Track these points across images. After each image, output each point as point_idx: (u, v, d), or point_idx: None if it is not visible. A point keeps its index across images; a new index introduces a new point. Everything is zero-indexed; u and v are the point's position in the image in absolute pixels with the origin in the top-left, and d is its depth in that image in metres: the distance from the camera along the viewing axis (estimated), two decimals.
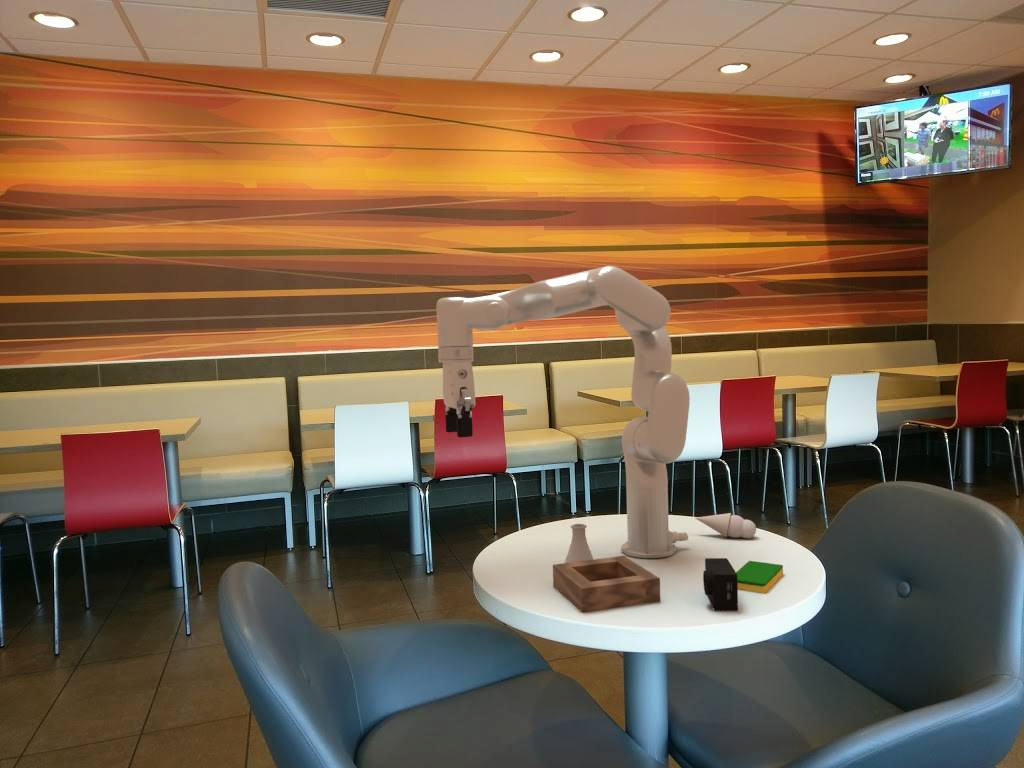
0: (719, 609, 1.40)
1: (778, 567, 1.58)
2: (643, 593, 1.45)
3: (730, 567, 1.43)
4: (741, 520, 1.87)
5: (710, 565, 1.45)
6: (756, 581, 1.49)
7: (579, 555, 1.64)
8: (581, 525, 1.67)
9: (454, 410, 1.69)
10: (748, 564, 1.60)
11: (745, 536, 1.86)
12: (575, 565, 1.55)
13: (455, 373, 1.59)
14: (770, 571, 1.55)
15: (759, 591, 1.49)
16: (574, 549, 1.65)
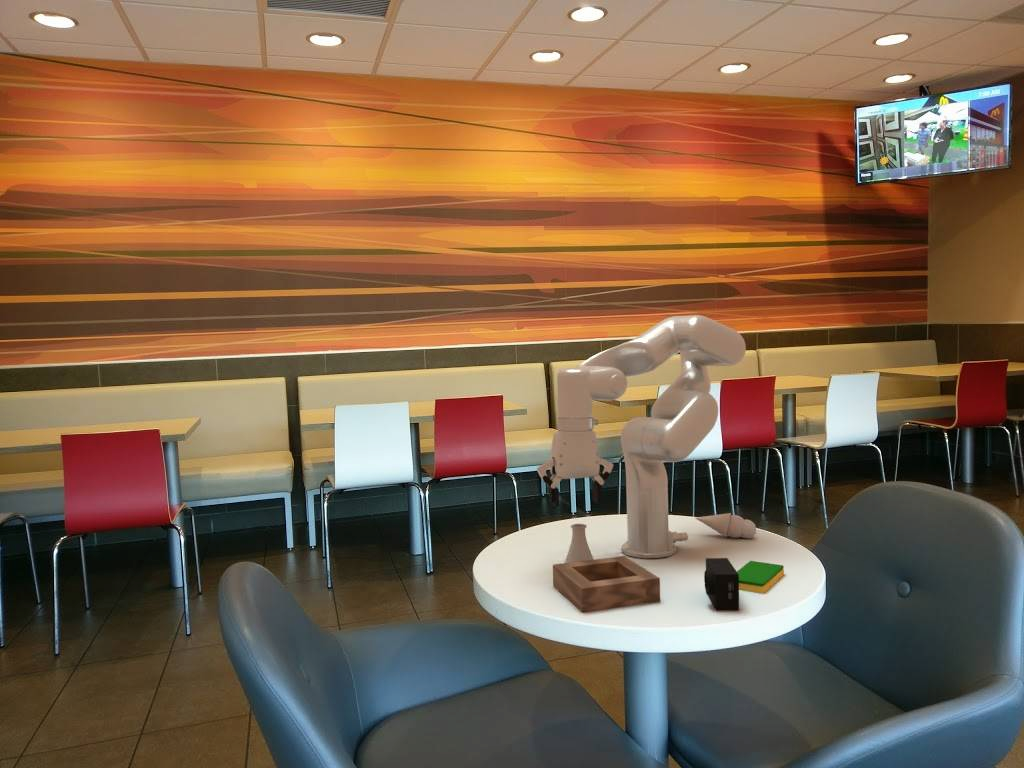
0: (720, 609, 1.40)
1: (779, 567, 1.58)
2: (643, 593, 1.45)
3: (731, 567, 1.43)
4: (741, 520, 1.87)
5: (711, 565, 1.45)
6: (755, 581, 1.50)
7: (579, 555, 1.64)
8: (581, 525, 1.67)
9: None
10: (749, 564, 1.60)
11: (745, 536, 1.86)
12: (575, 565, 1.55)
13: None
14: (770, 571, 1.55)
15: (758, 591, 1.49)
16: (574, 549, 1.65)
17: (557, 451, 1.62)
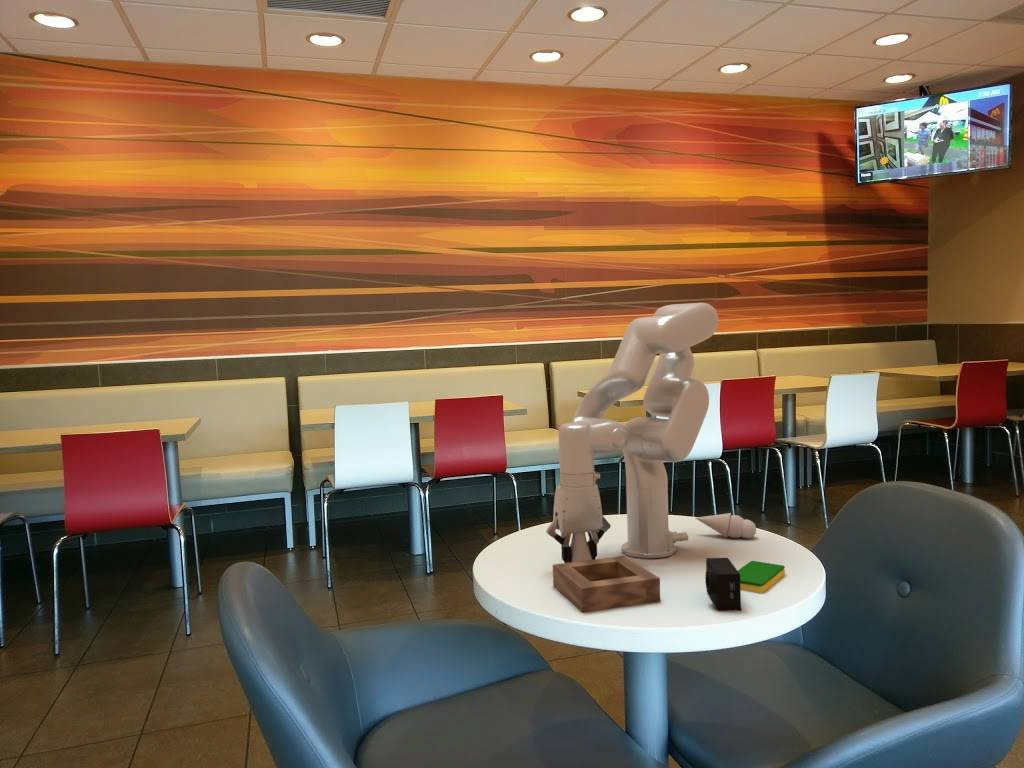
0: (722, 609, 1.40)
1: (779, 567, 1.57)
2: (643, 593, 1.45)
3: (732, 567, 1.43)
4: (741, 520, 1.87)
5: (712, 565, 1.45)
6: (754, 581, 1.50)
7: (579, 555, 1.64)
8: None
9: None
10: (749, 564, 1.60)
11: (745, 536, 1.86)
12: (575, 565, 1.55)
13: None
14: (770, 571, 1.55)
15: (757, 591, 1.49)
16: (574, 549, 1.65)
17: (560, 507, 1.63)
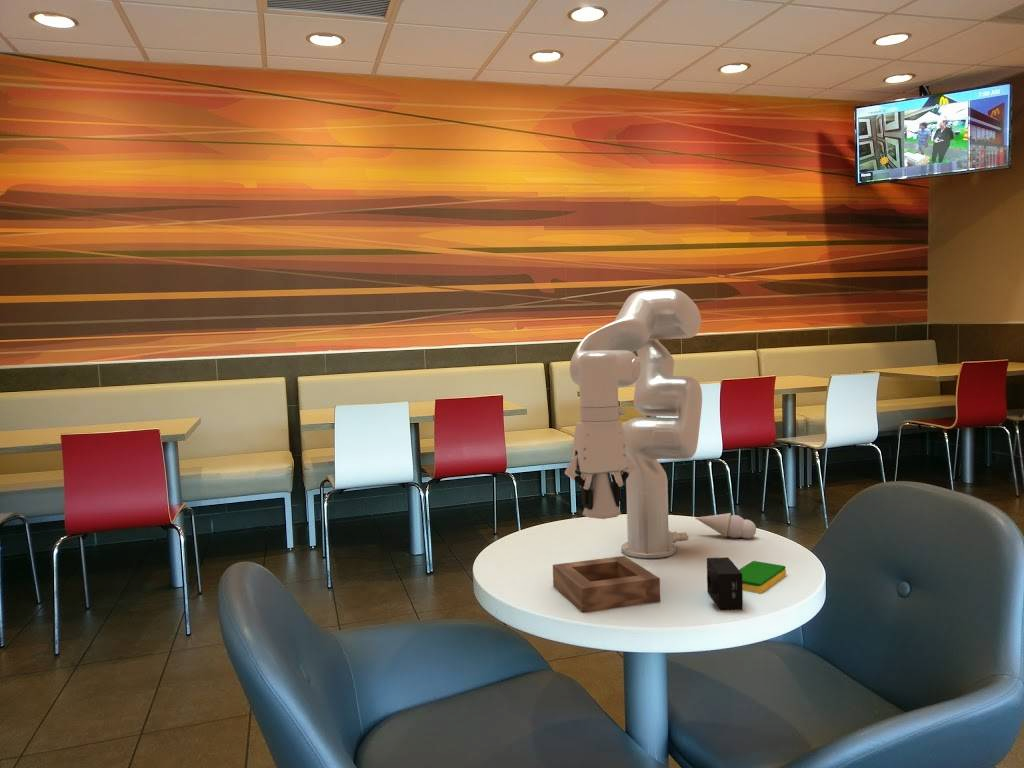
0: (724, 608, 1.40)
1: (780, 568, 1.57)
2: (643, 593, 1.45)
3: (733, 566, 1.44)
4: (741, 520, 1.87)
5: (713, 565, 1.45)
6: (752, 581, 1.50)
7: (601, 498, 1.48)
8: None
9: None
10: (750, 564, 1.60)
11: (745, 536, 1.86)
12: (575, 565, 1.55)
13: None
14: (770, 571, 1.55)
15: (755, 591, 1.49)
16: (596, 492, 1.49)
17: (580, 444, 1.47)
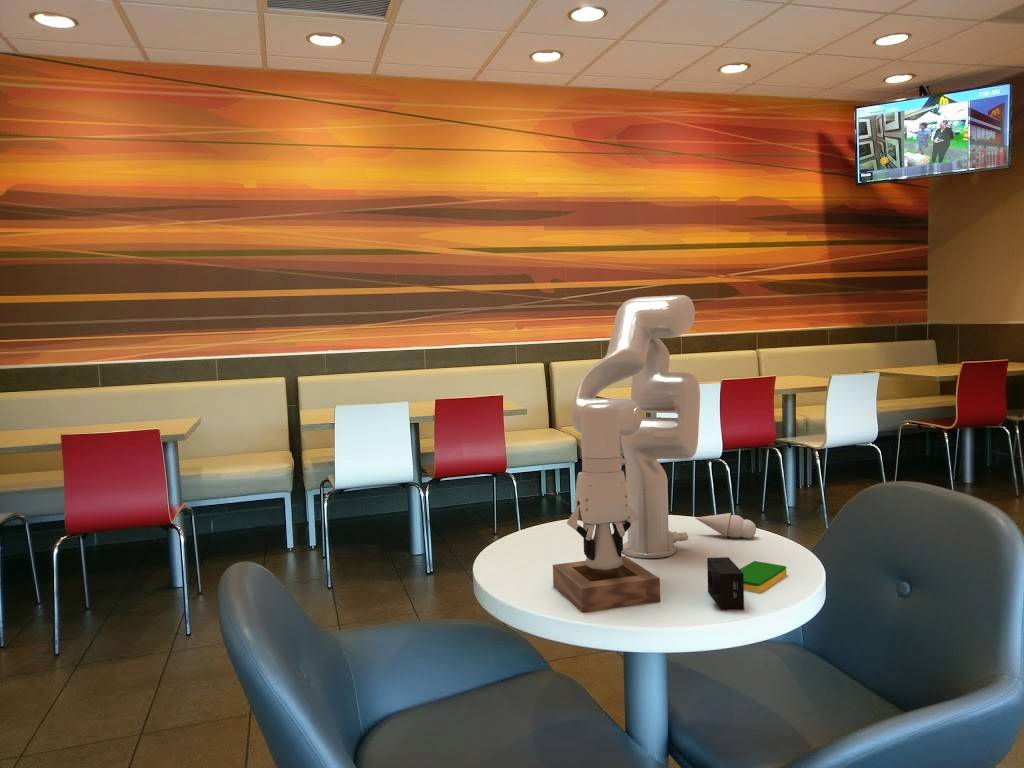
0: (725, 608, 1.40)
1: (780, 568, 1.57)
2: (643, 593, 1.45)
3: (734, 566, 1.44)
4: (741, 520, 1.87)
5: (714, 564, 1.45)
6: (752, 581, 1.50)
7: (603, 548, 1.48)
8: None
9: None
10: (751, 564, 1.60)
11: (745, 536, 1.86)
12: (575, 565, 1.55)
13: None
14: (770, 571, 1.55)
15: (754, 591, 1.49)
16: (598, 542, 1.49)
17: (582, 495, 1.47)
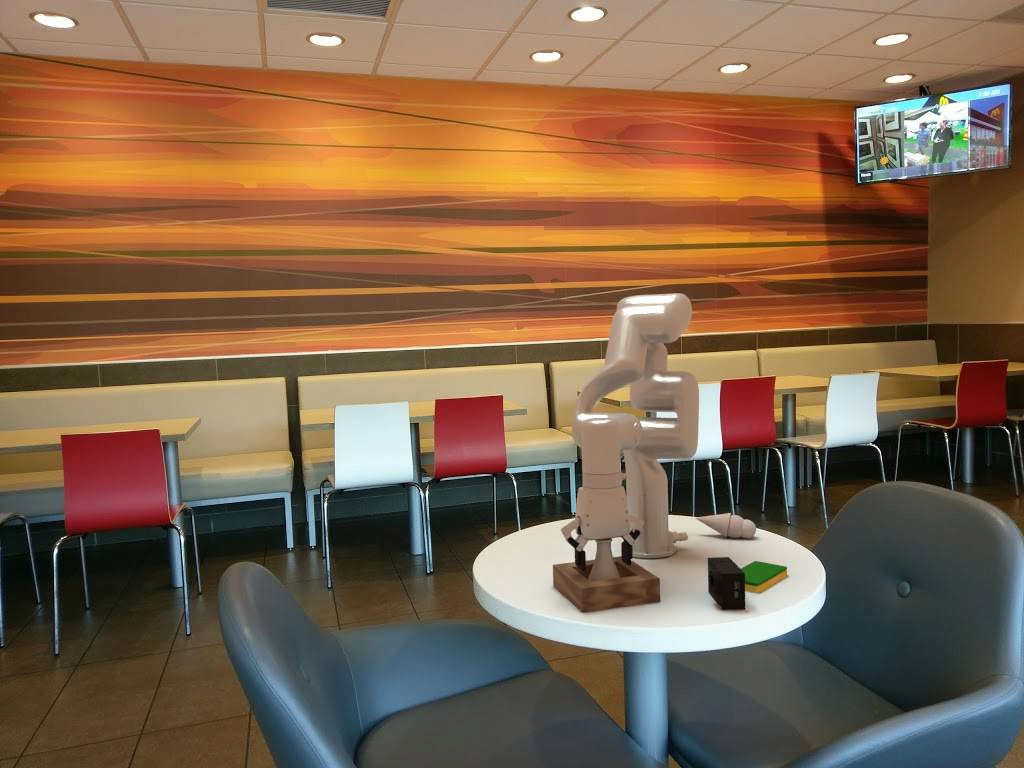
0: (727, 608, 1.40)
1: (781, 568, 1.57)
2: (643, 593, 1.45)
3: (735, 566, 1.44)
4: (741, 520, 1.87)
5: (715, 564, 1.45)
6: (751, 581, 1.50)
7: (604, 572, 1.49)
8: None
9: None
10: (752, 564, 1.60)
11: (745, 536, 1.86)
12: (575, 565, 1.55)
13: None
14: (770, 571, 1.55)
15: (753, 591, 1.49)
16: (599, 565, 1.50)
17: (583, 510, 1.47)
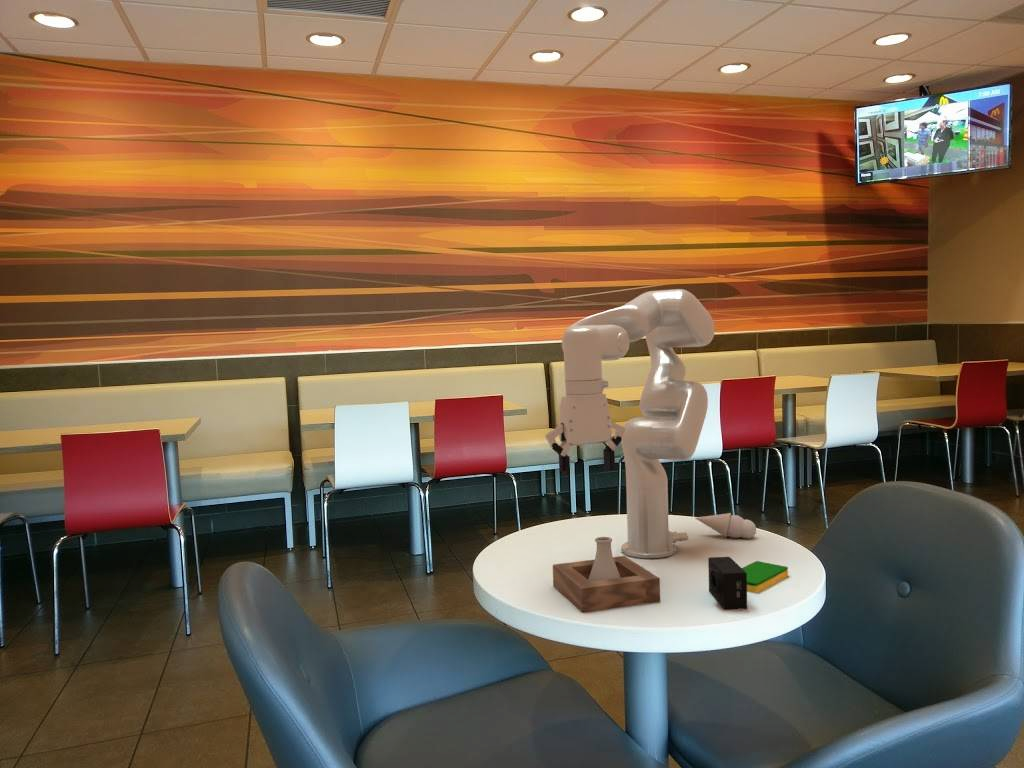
0: (729, 608, 1.40)
1: (781, 568, 1.57)
2: (643, 593, 1.45)
3: (736, 565, 1.44)
4: (741, 520, 1.87)
5: (716, 564, 1.45)
6: (749, 580, 1.50)
7: (604, 572, 1.49)
8: (606, 538, 1.52)
9: None
10: (752, 564, 1.60)
11: (745, 536, 1.86)
12: (575, 565, 1.55)
13: None
14: (770, 572, 1.55)
15: (751, 590, 1.49)
16: (599, 565, 1.50)
17: (566, 416, 1.52)
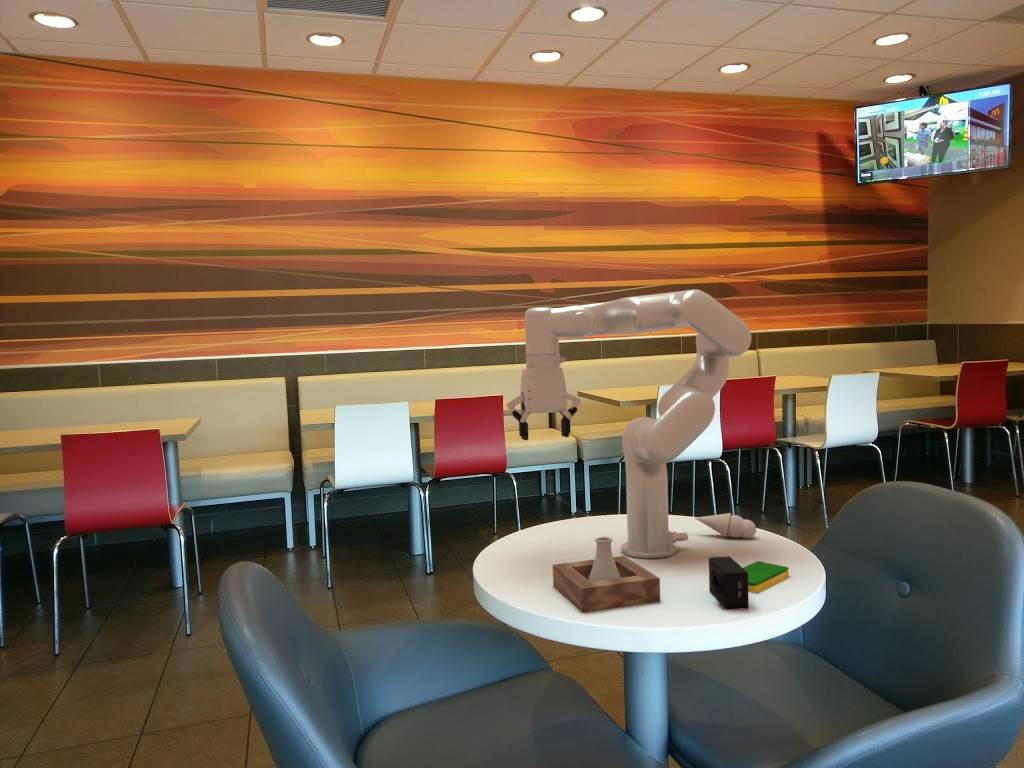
0: (730, 607, 1.40)
1: (782, 569, 1.56)
2: (643, 593, 1.45)
3: (737, 565, 1.44)
4: (741, 520, 1.87)
5: (717, 564, 1.45)
6: (748, 580, 1.50)
7: (604, 572, 1.49)
8: (606, 538, 1.52)
9: None
10: (753, 564, 1.60)
11: (745, 536, 1.86)
12: (575, 565, 1.55)
13: (563, 378, 1.72)
14: (770, 572, 1.55)
15: (750, 590, 1.49)
16: (599, 565, 1.50)
17: (525, 387, 1.69)
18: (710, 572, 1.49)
